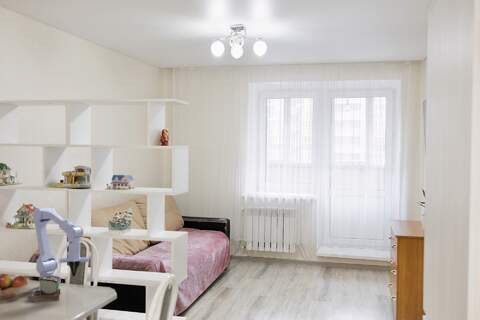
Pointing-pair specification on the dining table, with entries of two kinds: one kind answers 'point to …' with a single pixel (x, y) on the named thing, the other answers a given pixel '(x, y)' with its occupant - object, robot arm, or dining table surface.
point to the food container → (49, 285)
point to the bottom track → (43, 298)
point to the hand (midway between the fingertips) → (73, 275)
